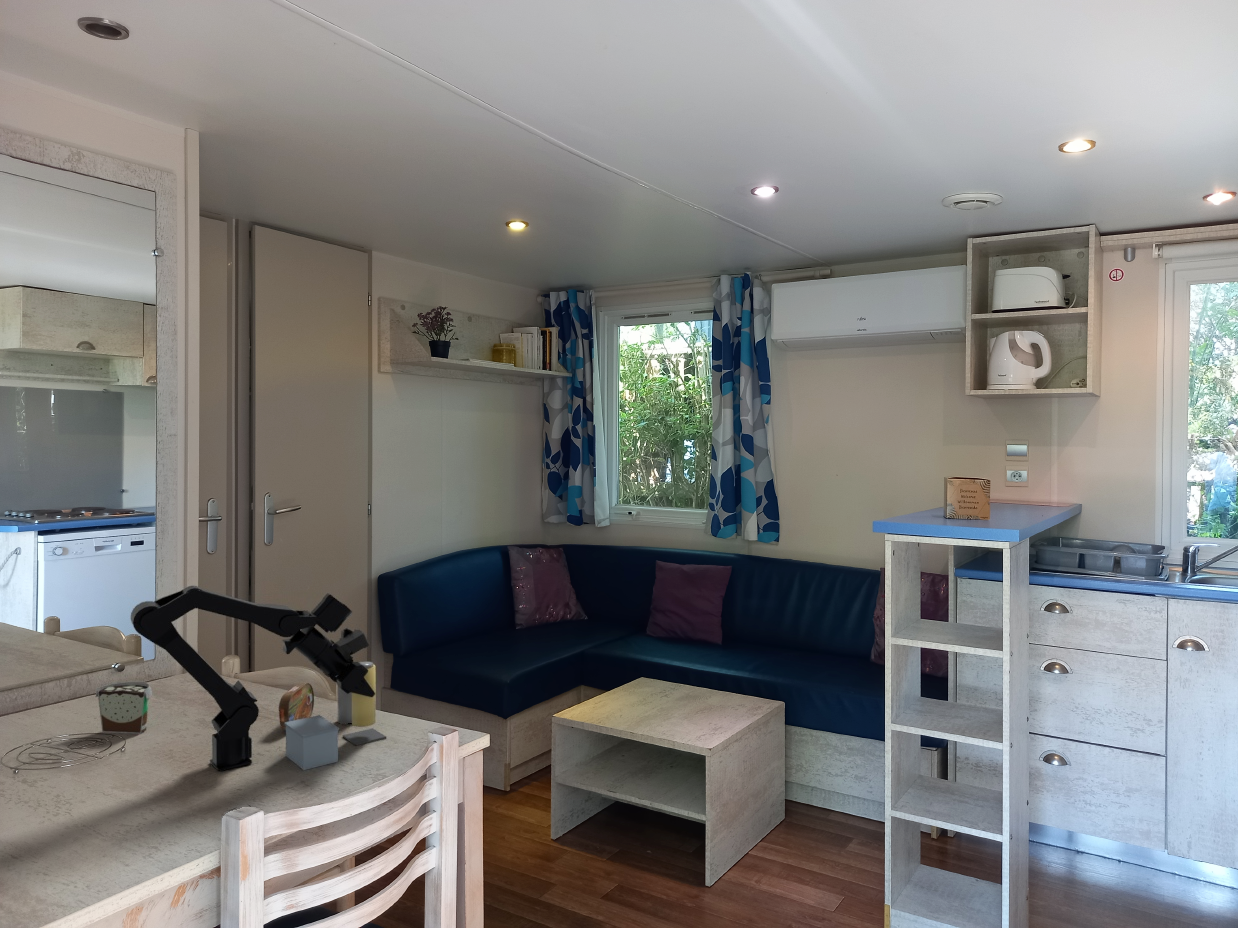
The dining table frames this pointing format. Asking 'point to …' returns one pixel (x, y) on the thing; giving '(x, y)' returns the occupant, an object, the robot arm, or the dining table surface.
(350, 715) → the cylinder
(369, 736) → the pad
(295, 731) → the block
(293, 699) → the tin
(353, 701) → the cylinder
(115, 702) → the food container
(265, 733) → the dining table surface
